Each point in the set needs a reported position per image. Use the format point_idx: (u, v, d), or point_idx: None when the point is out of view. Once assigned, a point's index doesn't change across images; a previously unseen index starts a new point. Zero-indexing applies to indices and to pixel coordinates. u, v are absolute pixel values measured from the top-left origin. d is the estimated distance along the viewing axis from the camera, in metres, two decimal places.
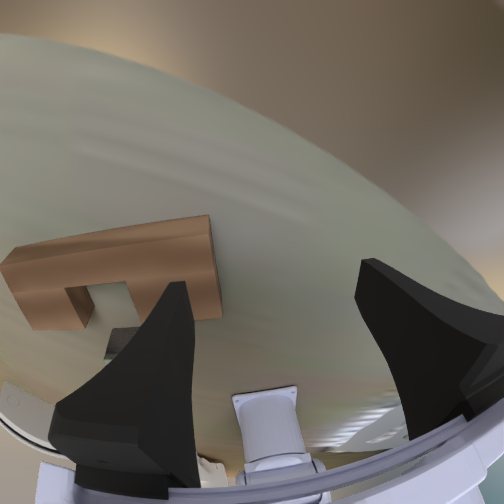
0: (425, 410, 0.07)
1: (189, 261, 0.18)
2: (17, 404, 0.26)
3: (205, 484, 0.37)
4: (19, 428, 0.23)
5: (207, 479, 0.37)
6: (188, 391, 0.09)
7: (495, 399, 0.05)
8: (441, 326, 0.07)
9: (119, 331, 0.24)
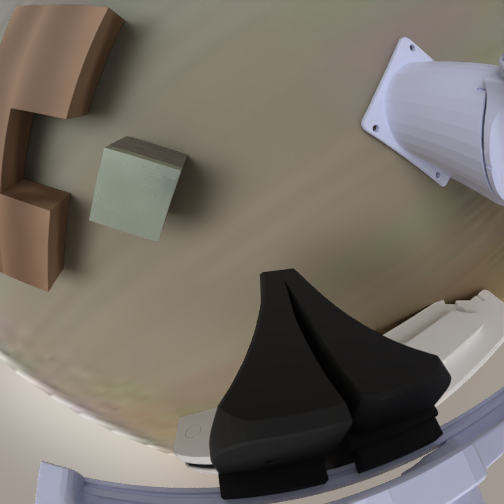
0: None
1: (25, 28, 0.08)
2: (198, 431, 0.27)
3: (484, 334, 0.21)
4: (206, 457, 0.23)
5: (481, 323, 0.21)
6: None
7: (401, 452, 0.05)
8: (329, 357, 0.06)
9: None
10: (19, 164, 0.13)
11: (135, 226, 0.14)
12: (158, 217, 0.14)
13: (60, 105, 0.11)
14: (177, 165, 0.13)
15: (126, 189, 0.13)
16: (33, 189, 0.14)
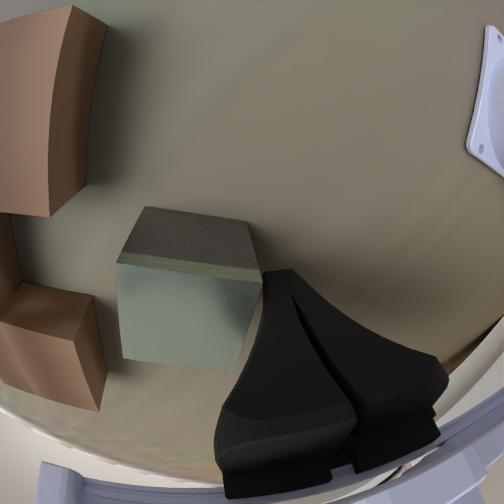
0: None
1: None
2: None
3: None
4: None
5: None
6: None
7: (398, 453, 0.05)
8: (326, 357, 0.06)
9: None
10: (9, 269, 0.10)
11: (197, 359, 0.09)
12: (232, 345, 0.09)
13: (34, 195, 0.07)
14: (249, 265, 0.08)
15: (171, 319, 0.08)
16: (40, 300, 0.11)
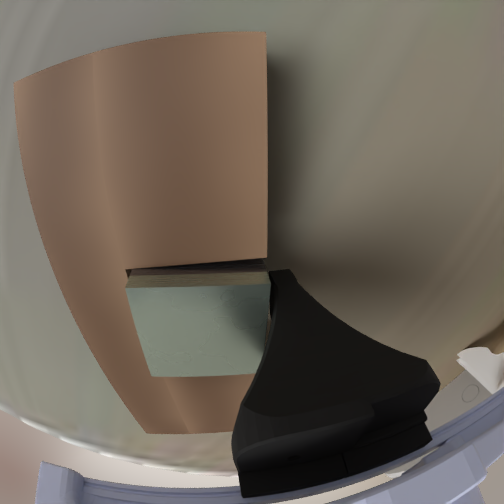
0: None
1: (64, 114, 0.06)
2: None
3: None
4: None
5: None
6: None
7: (388, 458, 0.05)
8: (315, 360, 0.06)
9: None
10: None
11: (222, 367, 0.09)
12: (253, 349, 0.09)
13: (247, 238, 0.08)
14: (256, 268, 0.08)
15: (189, 332, 0.08)
16: None
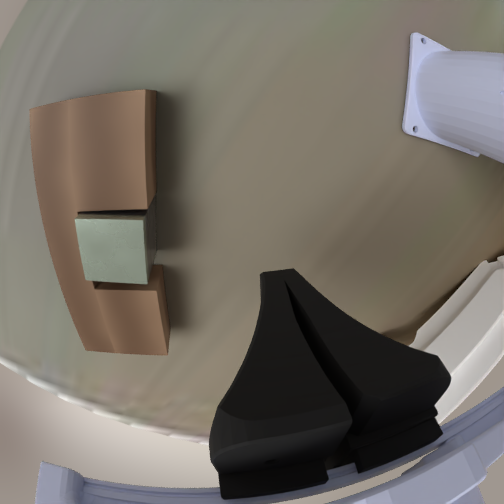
0: None
1: (54, 129, 0.11)
2: None
3: None
4: None
5: None
6: None
7: (401, 452, 0.05)
8: (329, 357, 0.06)
9: None
10: None
11: (124, 276, 0.15)
12: (139, 264, 0.15)
13: (136, 197, 0.14)
14: (141, 214, 0.14)
15: (104, 248, 0.14)
16: None
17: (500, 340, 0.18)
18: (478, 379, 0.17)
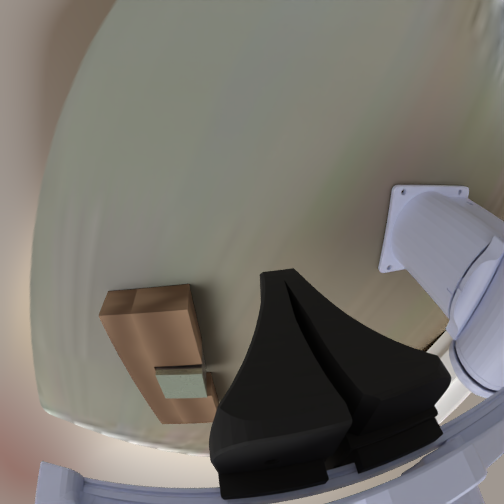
0: None
1: (125, 329, 0.20)
2: None
3: None
4: None
5: None
6: None
7: (400, 452, 0.05)
8: (329, 357, 0.06)
9: None
10: None
11: (191, 395, 0.24)
12: (201, 390, 0.23)
13: (194, 359, 0.22)
14: (198, 366, 0.23)
15: (178, 385, 0.23)
16: None
17: (456, 395, 0.25)
18: None
